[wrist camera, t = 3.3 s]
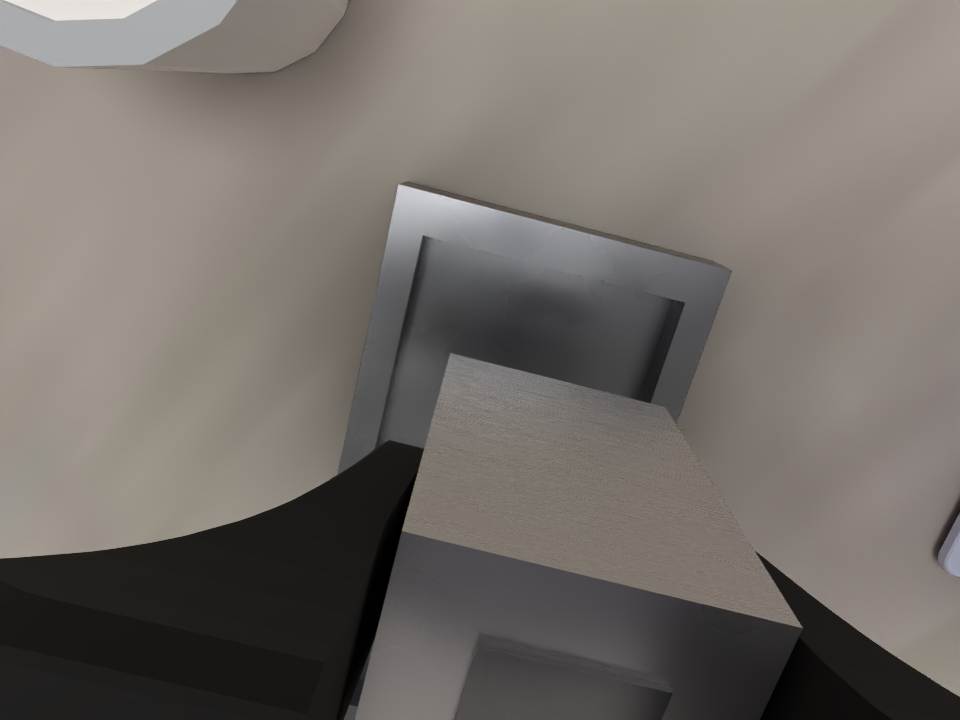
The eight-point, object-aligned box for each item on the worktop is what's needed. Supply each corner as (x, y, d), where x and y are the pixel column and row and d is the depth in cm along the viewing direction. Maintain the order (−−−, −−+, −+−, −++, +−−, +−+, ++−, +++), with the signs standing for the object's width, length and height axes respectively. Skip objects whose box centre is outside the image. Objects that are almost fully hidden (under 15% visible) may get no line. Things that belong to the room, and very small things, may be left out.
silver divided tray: (713, 261, 18) (733, 271, 16) (487, 897, 24) (486, 946, 23) (407, 181, 17) (398, 184, 16) (265, 849, 24) (249, 896, 23)
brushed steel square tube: (665, 407, 12) (807, 634, 7) (599, 590, 14) (669, 921, 8) (450, 353, 12) (399, 536, 6) (402, 542, 13) (324, 844, 8)
